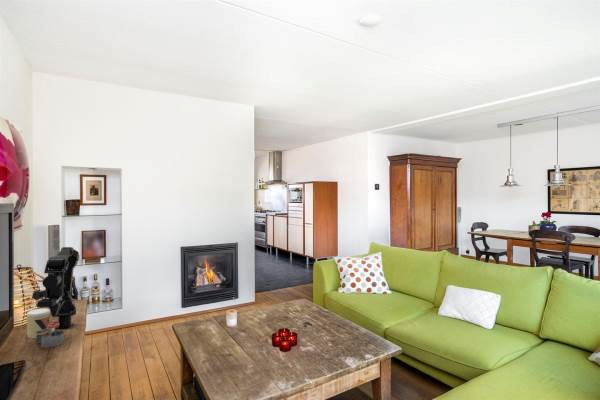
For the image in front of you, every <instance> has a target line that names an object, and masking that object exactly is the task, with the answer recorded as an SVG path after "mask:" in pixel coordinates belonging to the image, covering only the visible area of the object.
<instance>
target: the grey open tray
mask: <svg viewBox="0 0 600 400" xmlns="http://www.w3.org/2000/svg"><path fill="white" fill-rule="evenodd" d="M64 339H65V332H64V331H62V330H54V335H52V330H51V331H48V332H47V333H45V334H43V335H37V336H36V338H35V343H40V346H41V348H55V347H58V346H60V345H61V344H63V343H64V342H65V341H64Z"/></svg>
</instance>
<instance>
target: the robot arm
mask: <svg viewBox="0 0 600 400" xmlns="http://www.w3.org/2000/svg"><path fill="white" fill-rule="evenodd" d="M78 261H79V262H80V252H79V251H77V250H76V249H74V247H72V246H64V247H61V248H60V251H59V252H57V255H53V256H50V257H49V258H48V259H47V260H46V264H45V268H44V272H43V273H44V274H47V276H46V277H45V278H43V280H42V286H43V287H44V288H45V289H44V290H43V289H42V290H36V291H33V292H32V295H31V298H32V299H34V301H37V302H36V308H48V309H50V311H51V312H50V315H51V317H52V318H58V319H57V320H58V321H57V322H59V326H57V327H55V330H59V329H61V330H63V329H69V328H71V327H72V326H74V325H75V323H72V316H74V315H76V314H77V306H76V305H75V303H74V302H75V301H74V299H73V297H72V294H73V293H72V287H73V280H74V279H73V277H74V276H73V275H74V269H75V268H76V266H77V265H78V263H79V262H78Z"/></svg>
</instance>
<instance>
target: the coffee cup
mask: <svg viewBox="0 0 600 400" xmlns="http://www.w3.org/2000/svg"><path fill="white" fill-rule="evenodd" d="M50 316H51V311H50V309H49V308H37V309H36V308H35V309H31V310H29V311H27V313H26V327H27V328H26V329H27V339H36V336H37V335H43V334H45V333H47V332H49V328H48V323H50Z"/></svg>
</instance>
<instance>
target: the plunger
mask: <svg viewBox="0 0 600 400" xmlns="http://www.w3.org/2000/svg"><path fill="white" fill-rule="evenodd" d="M57 326H59V322H58V321H51V322H49V323H48V329H51V331H52V335H54V331H56V329H55V327H57Z"/></svg>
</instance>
